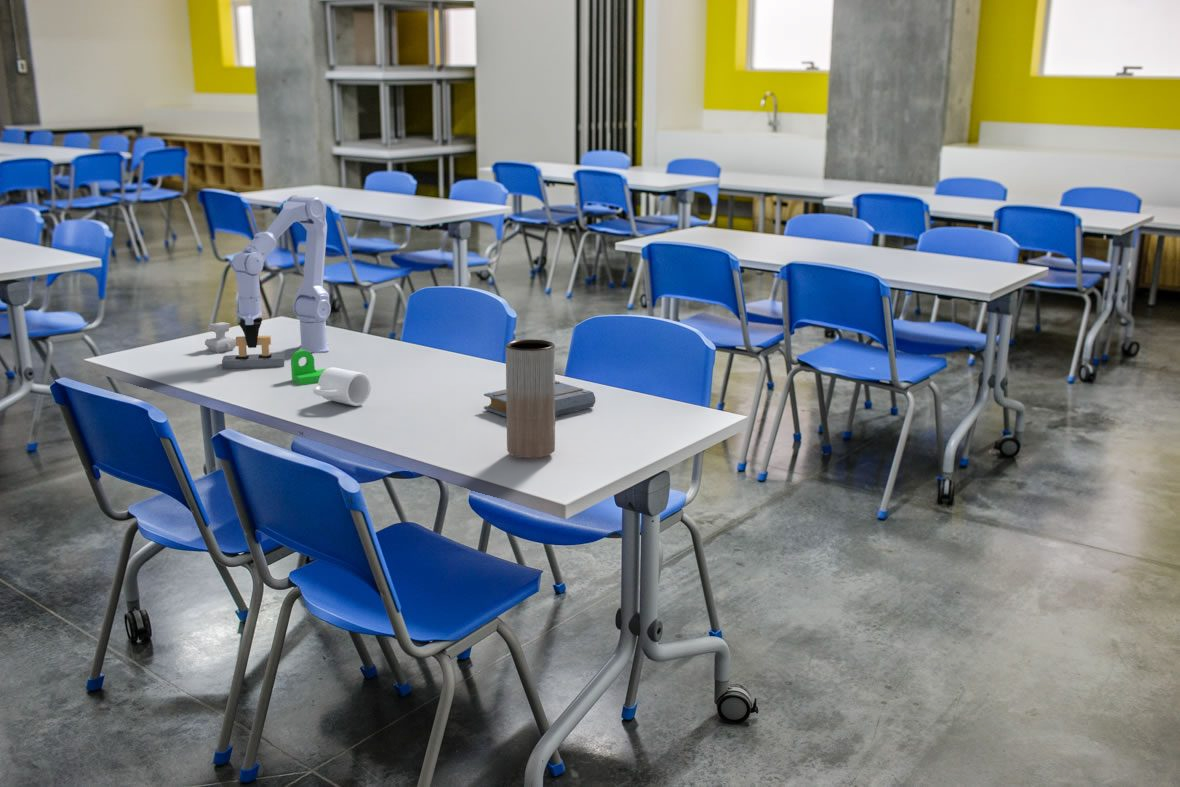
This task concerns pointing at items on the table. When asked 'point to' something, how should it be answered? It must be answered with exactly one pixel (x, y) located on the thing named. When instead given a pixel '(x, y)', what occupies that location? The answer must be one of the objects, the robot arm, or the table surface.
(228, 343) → the stamp
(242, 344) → the tan wooden block
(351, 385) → the mug
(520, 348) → the planter
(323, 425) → the table surface
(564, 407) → the book
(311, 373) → the mechanical part
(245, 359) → the grey flat block
